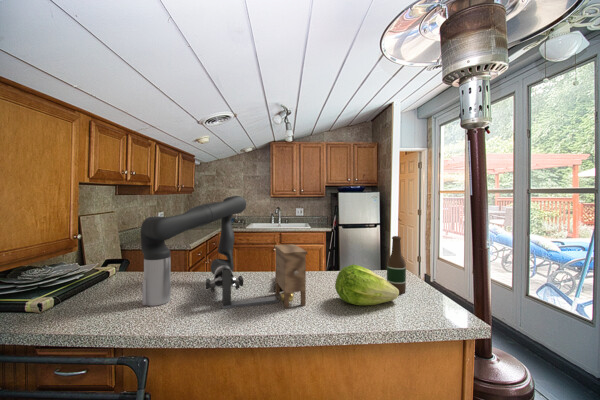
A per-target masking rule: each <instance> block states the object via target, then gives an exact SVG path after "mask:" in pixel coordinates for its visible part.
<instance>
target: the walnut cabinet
mask: <svg viewBox="0 0 600 400" xmlns="http://www.w3.org/2000/svg"><path fill="white" fill-rule="evenodd" d="M273 248H274V249H275V283H276V287H275V286H274V290H275V292H274V294H275V296H277V295H281V291H280V287H281V288H282V290H283V291H282V292H284V302H283V307H284V309H289V308H290V302H289V293H293V294H295V293H299V292H300V305H301V307H303V306H304V307H305V306H306V298H307V297H306V292H307V291H306V288H307V287H306V282H307V281H306V278H307V277H306V275H307V273H306V271H307V270H306V269H307V268H306V267H307V266H306V265H307V264H306V263H307V260H306V259H307V258H306V257H307V256H306V255H308V250H305V249H304V248H303V247H300V246H298V245H296V244H290V243H289V244H275V245H274V246H273Z"/></svg>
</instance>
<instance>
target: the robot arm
mask: <svg viewBox="0 0 600 400" xmlns="http://www.w3.org/2000/svg"><path fill="white" fill-rule="evenodd" d="M246 208H247V201H246V199H245V197H243V196H241V195H232V196H228V197H225V198H224V199H223V201H216V202H208V203H204V204H198V205H196V206H193V207H191V208H189V209H187V211H185V212H184V213H181V214H177V215H172V216H153V215H151V216H148V217H146V218H145V219H144V220H143V221H142V223H141V226H140V246H141V251H142V254H143V279H142V284H141V285H142V286H141V288H142V290H141V291H142V296H141V297H142V306H148V307H152V306H153V307H154V306H161V305H164V304H168V303H169V302H170V301H171V292H172V291H171V285H172V284H171V281H172V280H171V279H172V278H171V270H172V269H171V268H172V267H171V265H172V264H171V249H170V248H169V247H167V245H166V243H165V241H167V240H169V239H172V238H174V237H176V236H177V235H180V234H181V233H184V232H187V231H189V230H190V231H191V230H193V229H196V228H199V227H204V226H206V225H210V224H211V223H214V222H216V221H219V220H221V223H220V224H221V225H220V226H221V228H220V237H219V242H218V248H217V252H218V254H220V255H223V256H225V257H226V259H224V258H223V259H222V258H215V259H213V260H212V261H211V263H210V271H211V273H212V275H213V276H214V277H213V278H214V279H210V278H209V277H208V278H205V279H206V280H205V290H209V289H210V291H211V292H212V293H215V291H216V289H220V288H221V289H222V269H227V268H231V288H235V290H236V291H237V290H239V289H240V287H243V286H244V278H243V276H242V275H238V276H237V277H235V276H234V274H233V273H234V272H233V271H234V258H233V250H234V244H235V233H234V232H235V231H234V229H233V226H232V219H233V215H236V214H241V213H244V211H245V210H246Z"/></svg>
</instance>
